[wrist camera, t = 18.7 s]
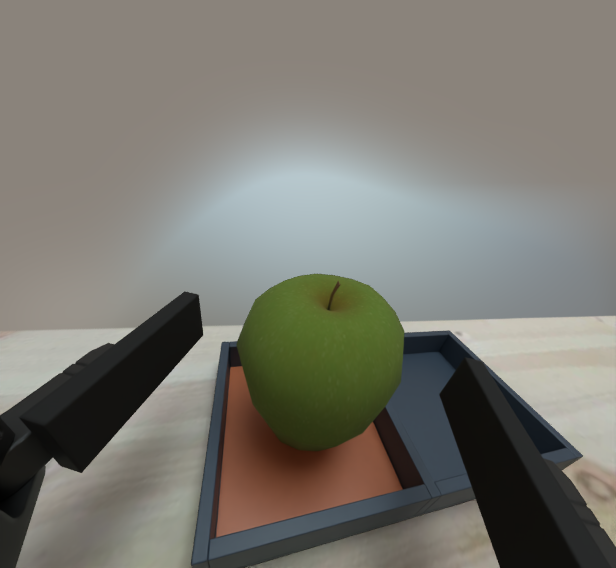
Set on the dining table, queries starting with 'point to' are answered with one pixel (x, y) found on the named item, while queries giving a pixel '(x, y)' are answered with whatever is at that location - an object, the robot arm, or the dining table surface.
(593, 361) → the dining table surface
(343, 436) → the apple
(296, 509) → the tray
